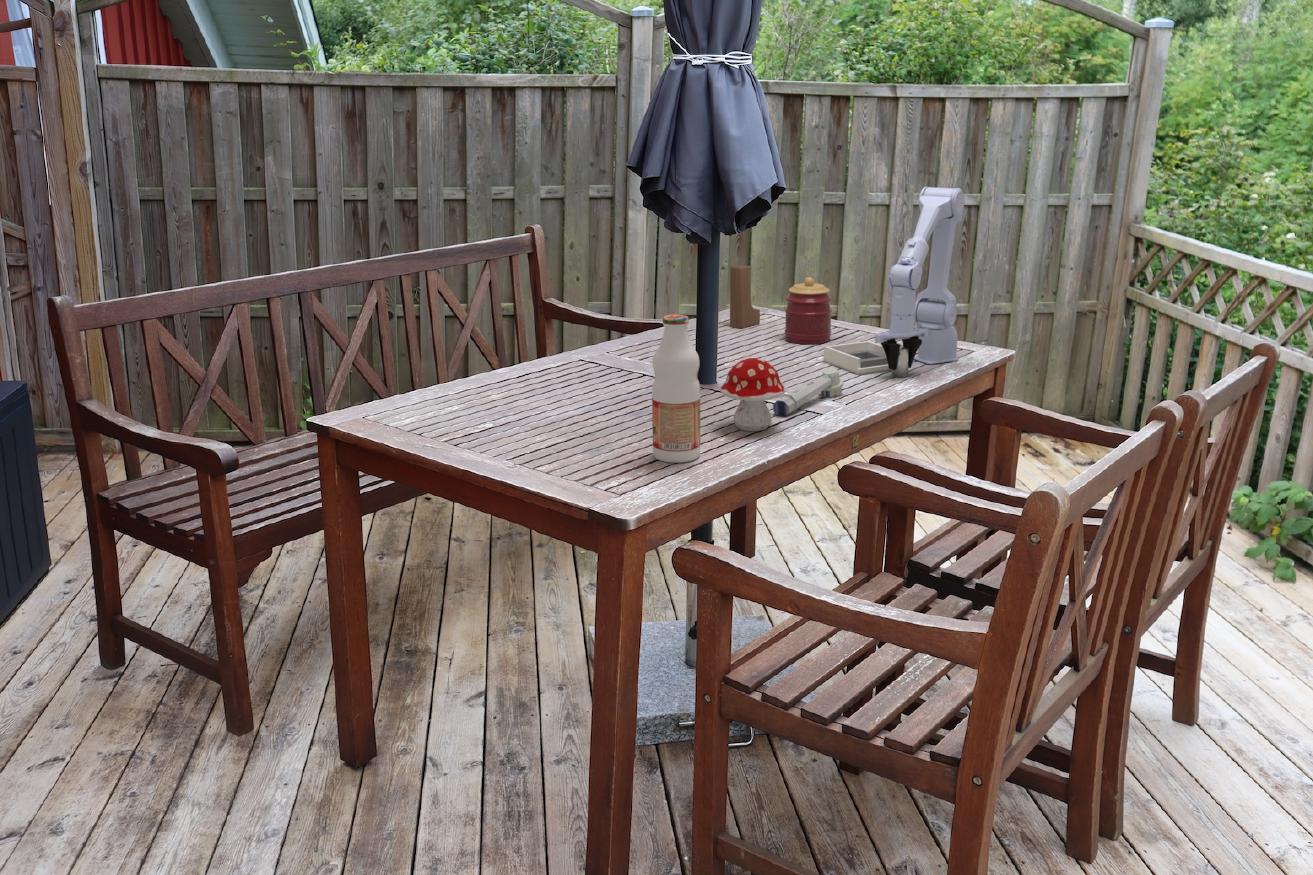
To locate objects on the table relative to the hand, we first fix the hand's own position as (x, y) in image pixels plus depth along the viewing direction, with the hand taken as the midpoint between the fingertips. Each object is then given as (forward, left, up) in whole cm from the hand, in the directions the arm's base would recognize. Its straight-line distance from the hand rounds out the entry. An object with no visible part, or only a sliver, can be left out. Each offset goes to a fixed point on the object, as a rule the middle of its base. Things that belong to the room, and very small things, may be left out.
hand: (899, 368), depth 289 cm
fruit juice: (+77, +31, -2) cm, 83 cm away
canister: (-2, -45, -2) cm, 45 cm away
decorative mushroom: (+54, +21, -2) cm, 58 cm away
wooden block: (+4, -70, -2) cm, 70 cm away
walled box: (+1, -13, -2) cm, 13 cm away
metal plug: (0, 0, -2) cm, 2 cm away
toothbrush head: (+33, +11, -2) cm, 35 cm away
